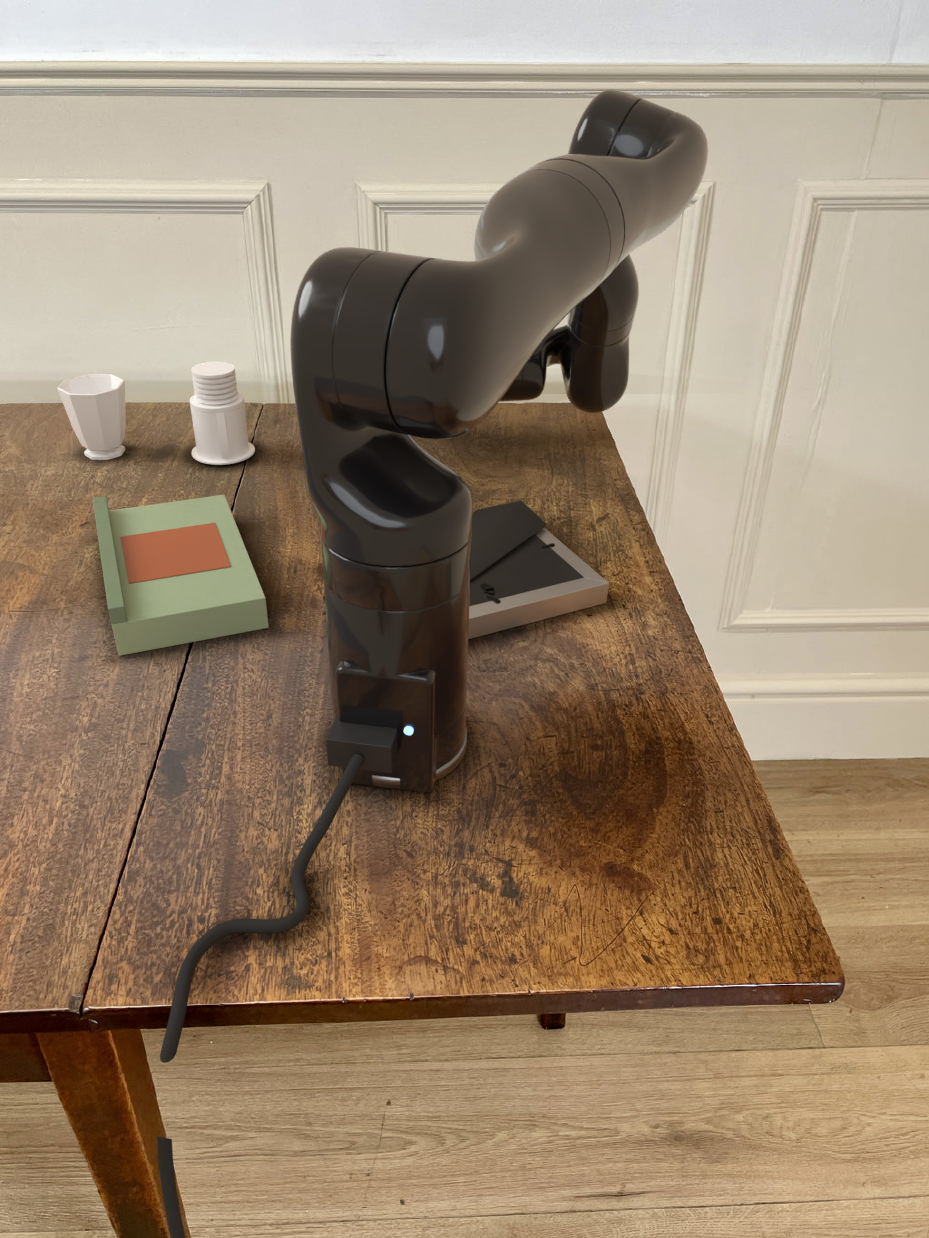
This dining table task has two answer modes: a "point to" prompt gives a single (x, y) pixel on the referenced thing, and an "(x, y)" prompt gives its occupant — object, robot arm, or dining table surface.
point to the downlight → (218, 415)
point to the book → (176, 574)
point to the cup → (96, 413)
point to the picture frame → (524, 572)
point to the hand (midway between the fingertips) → (310, 379)
